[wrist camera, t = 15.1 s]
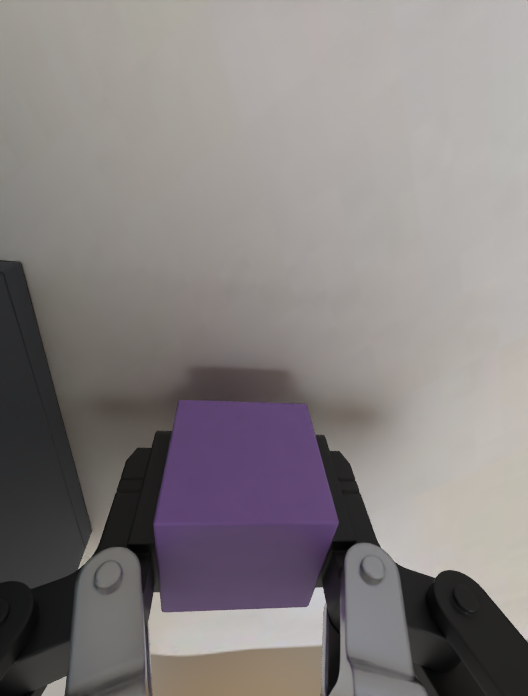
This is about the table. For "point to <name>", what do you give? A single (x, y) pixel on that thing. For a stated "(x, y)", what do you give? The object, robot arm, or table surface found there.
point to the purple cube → (242, 508)
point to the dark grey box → (33, 453)
